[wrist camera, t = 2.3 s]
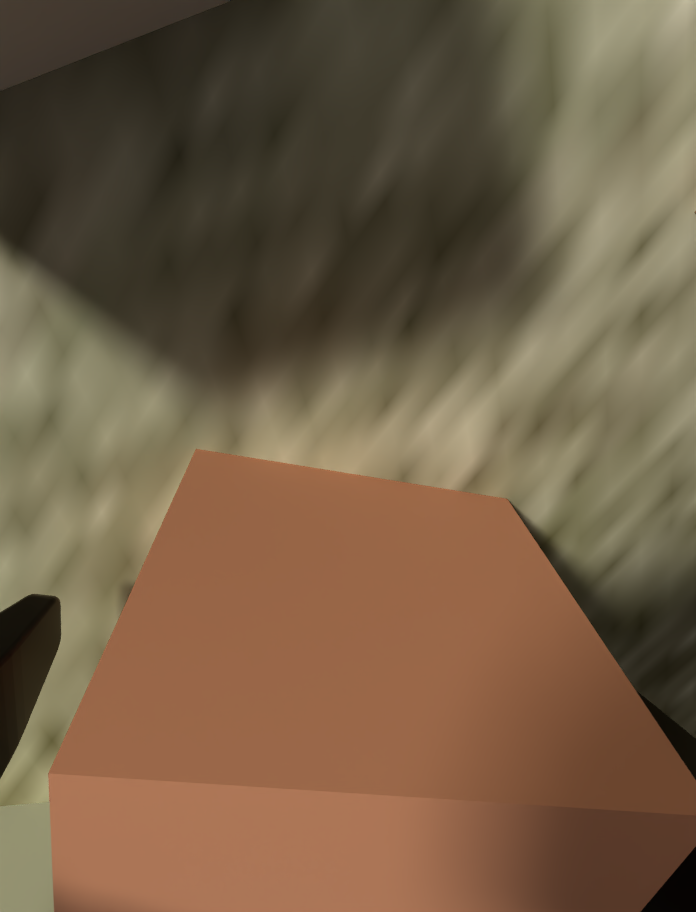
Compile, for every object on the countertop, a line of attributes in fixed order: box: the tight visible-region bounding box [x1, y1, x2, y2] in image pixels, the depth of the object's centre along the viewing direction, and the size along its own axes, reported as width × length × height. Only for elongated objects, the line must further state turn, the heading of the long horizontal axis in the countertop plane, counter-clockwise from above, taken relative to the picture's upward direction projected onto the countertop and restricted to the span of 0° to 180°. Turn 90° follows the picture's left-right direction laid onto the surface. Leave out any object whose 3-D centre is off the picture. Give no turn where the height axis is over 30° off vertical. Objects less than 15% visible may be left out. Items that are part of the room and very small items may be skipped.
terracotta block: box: [48, 449, 696, 912], centre depth 8 cm, size 6×6×6 cm
